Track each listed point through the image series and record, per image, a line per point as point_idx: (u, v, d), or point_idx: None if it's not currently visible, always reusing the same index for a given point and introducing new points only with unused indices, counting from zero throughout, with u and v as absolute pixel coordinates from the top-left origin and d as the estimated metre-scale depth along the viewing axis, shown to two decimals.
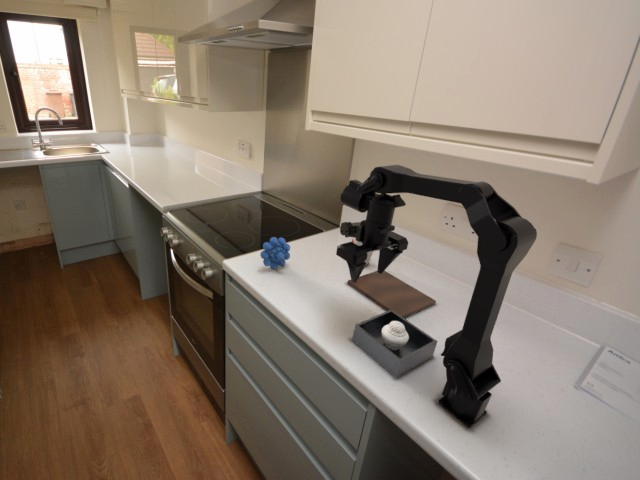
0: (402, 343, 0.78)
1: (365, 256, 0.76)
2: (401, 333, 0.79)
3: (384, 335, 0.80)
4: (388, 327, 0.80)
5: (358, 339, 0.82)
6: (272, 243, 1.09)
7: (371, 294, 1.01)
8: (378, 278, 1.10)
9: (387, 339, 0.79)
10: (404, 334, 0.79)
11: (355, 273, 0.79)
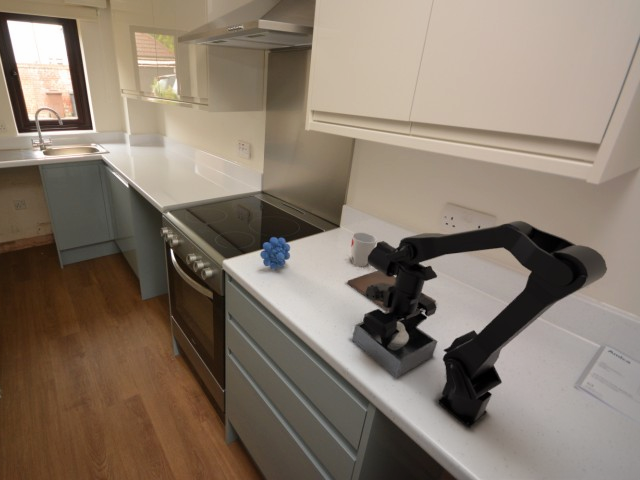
0: (402, 343, 0.78)
1: (394, 327, 0.73)
2: (401, 333, 0.79)
3: None
4: None
5: (358, 339, 0.82)
6: (272, 243, 1.09)
7: None
8: (378, 278, 1.10)
9: None
10: (404, 334, 0.79)
11: (387, 339, 0.78)
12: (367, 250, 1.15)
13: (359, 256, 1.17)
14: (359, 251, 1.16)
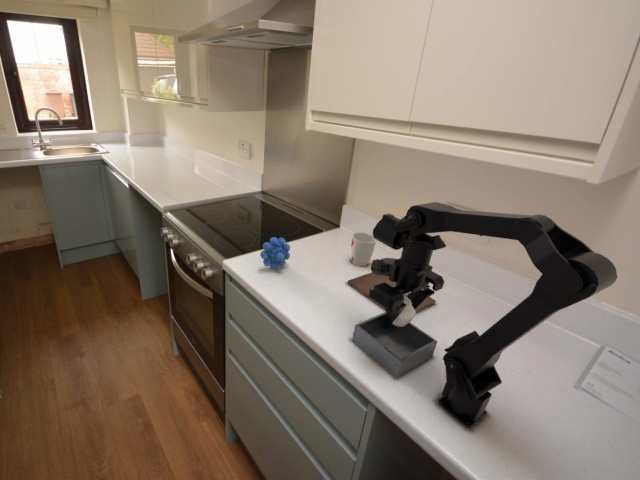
0: (409, 318, 0.76)
1: (401, 300, 0.70)
2: (408, 308, 0.76)
3: None
4: None
5: (358, 339, 0.82)
6: (272, 243, 1.09)
7: None
8: (378, 278, 1.10)
9: None
10: (411, 309, 0.76)
11: (393, 314, 0.75)
12: (367, 250, 1.15)
13: (359, 256, 1.17)
14: (359, 251, 1.16)
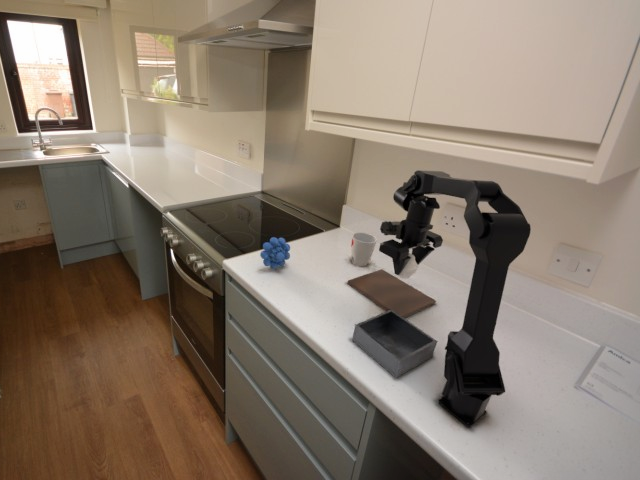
0: (413, 270, 0.89)
1: (407, 252, 0.84)
2: (412, 261, 0.90)
3: None
4: None
5: (358, 339, 0.82)
6: (272, 243, 1.09)
7: (371, 294, 1.01)
8: (378, 278, 1.10)
9: None
10: (414, 263, 0.90)
11: (400, 266, 0.89)
12: (367, 250, 1.15)
13: (359, 256, 1.17)
14: (359, 251, 1.16)
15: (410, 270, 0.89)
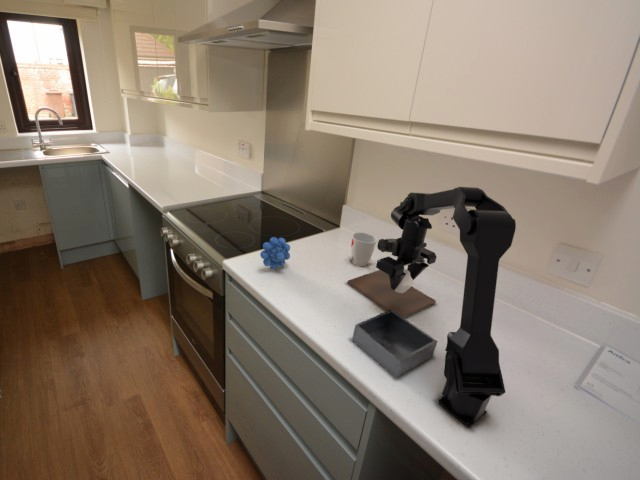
0: (408, 285, 0.94)
1: (402, 269, 0.89)
2: (407, 277, 0.95)
3: None
4: None
5: (358, 339, 0.82)
6: (272, 243, 1.09)
7: (371, 294, 1.01)
8: (378, 278, 1.10)
9: None
10: (409, 278, 0.95)
11: (396, 282, 0.94)
12: (367, 250, 1.15)
13: (359, 256, 1.17)
14: (359, 251, 1.16)
15: (405, 285, 0.94)
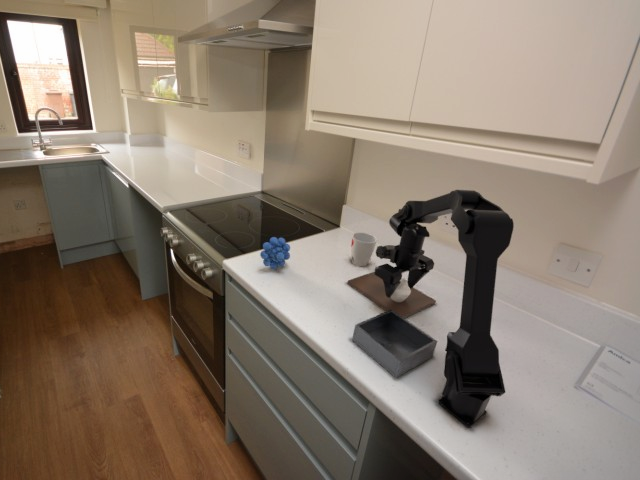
0: (405, 295, 0.96)
1: (400, 276, 0.90)
2: (404, 287, 0.96)
3: None
4: None
5: (358, 339, 0.82)
6: (272, 243, 1.09)
7: (371, 294, 1.01)
8: (378, 278, 1.10)
9: None
10: (407, 288, 0.96)
11: (390, 290, 0.94)
12: (367, 250, 1.15)
13: (359, 256, 1.17)
14: (359, 251, 1.16)
15: (403, 295, 0.96)
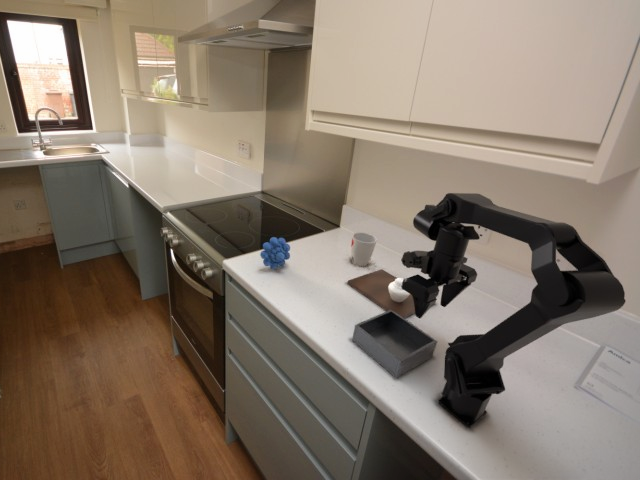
0: (405, 295, 0.96)
1: (437, 292, 0.69)
2: None
3: (390, 289, 0.97)
4: (394, 283, 0.98)
5: (358, 339, 0.82)
6: (272, 243, 1.09)
7: (371, 294, 1.01)
8: (378, 278, 1.10)
9: (393, 292, 0.97)
10: None
11: (422, 309, 0.73)
12: (367, 250, 1.15)
13: (359, 256, 1.17)
14: (359, 251, 1.16)
15: (403, 295, 0.96)
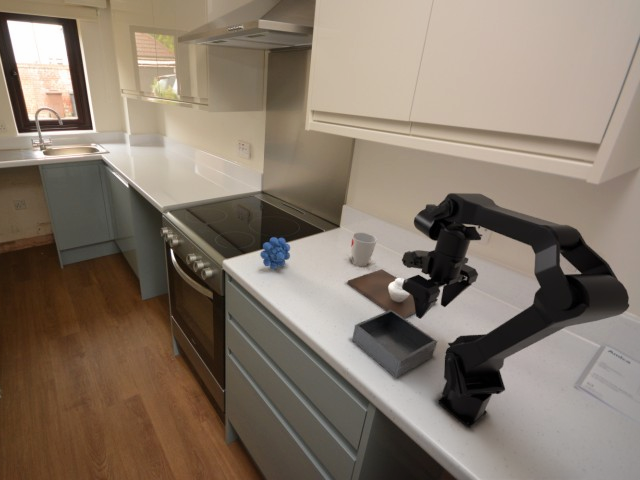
0: (405, 295, 0.96)
1: (438, 292, 0.68)
2: None
3: (390, 289, 0.97)
4: (394, 283, 0.98)
5: (358, 339, 0.82)
6: (272, 243, 1.09)
7: (371, 294, 1.01)
8: (378, 278, 1.10)
9: (393, 292, 0.97)
10: None
11: (423, 309, 0.72)
12: (367, 250, 1.15)
13: (359, 256, 1.17)
14: (359, 251, 1.16)
15: (403, 295, 0.96)
